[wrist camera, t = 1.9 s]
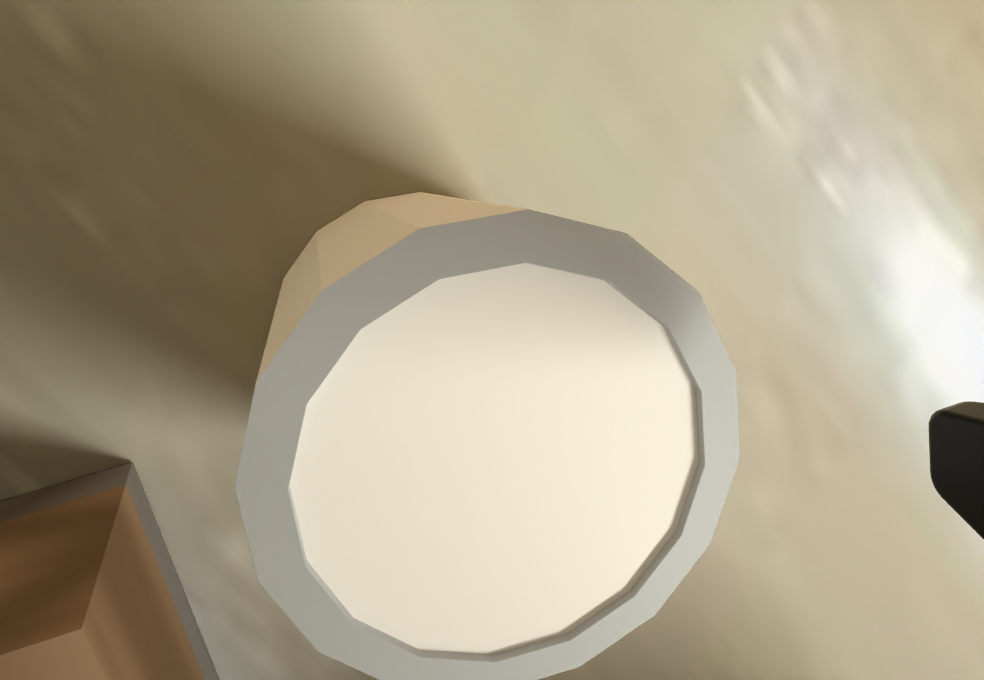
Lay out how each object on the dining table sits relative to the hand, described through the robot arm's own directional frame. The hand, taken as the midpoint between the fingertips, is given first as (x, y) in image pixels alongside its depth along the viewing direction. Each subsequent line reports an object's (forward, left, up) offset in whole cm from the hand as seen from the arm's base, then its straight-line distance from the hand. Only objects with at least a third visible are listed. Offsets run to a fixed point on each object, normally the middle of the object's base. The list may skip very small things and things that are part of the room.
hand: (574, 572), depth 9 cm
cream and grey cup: (0, 0, -9) cm, 9 cm away
